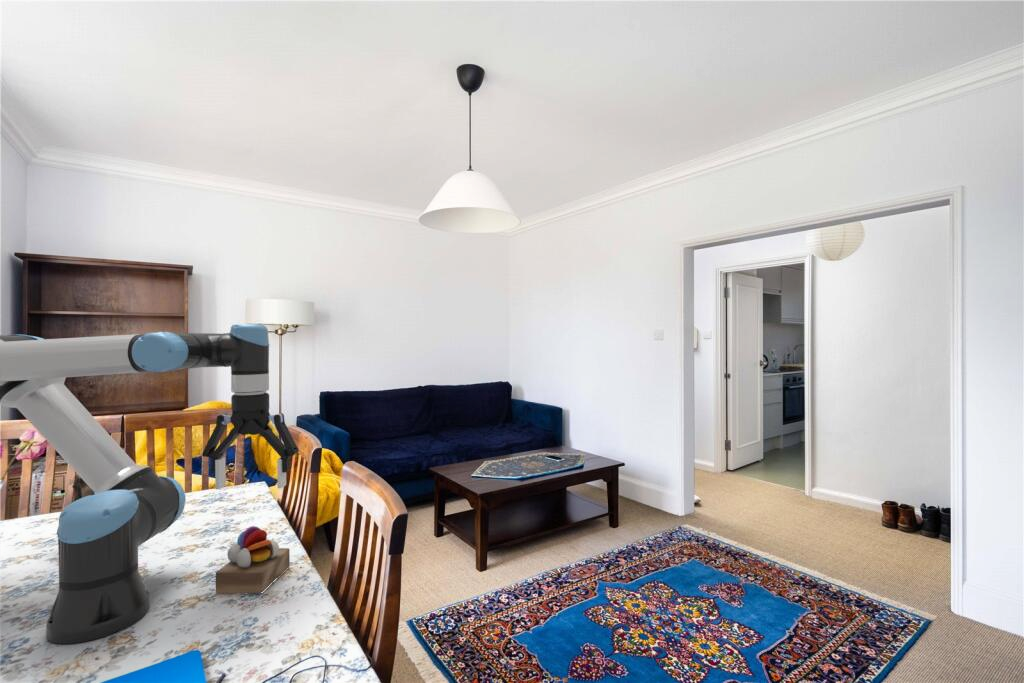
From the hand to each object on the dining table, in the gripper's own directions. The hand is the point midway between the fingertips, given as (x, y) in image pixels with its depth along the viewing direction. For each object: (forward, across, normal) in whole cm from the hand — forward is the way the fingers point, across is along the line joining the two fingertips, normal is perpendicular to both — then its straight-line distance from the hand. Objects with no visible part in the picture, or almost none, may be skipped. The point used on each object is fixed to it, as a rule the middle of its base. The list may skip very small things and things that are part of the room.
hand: (251, 487), depth 109 cm
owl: (+21, +47, -19) cm, 55 cm away
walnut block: (+21, -1, 0) cm, 21 cm away
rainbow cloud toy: (+16, -1, 0) cm, 16 cm away
